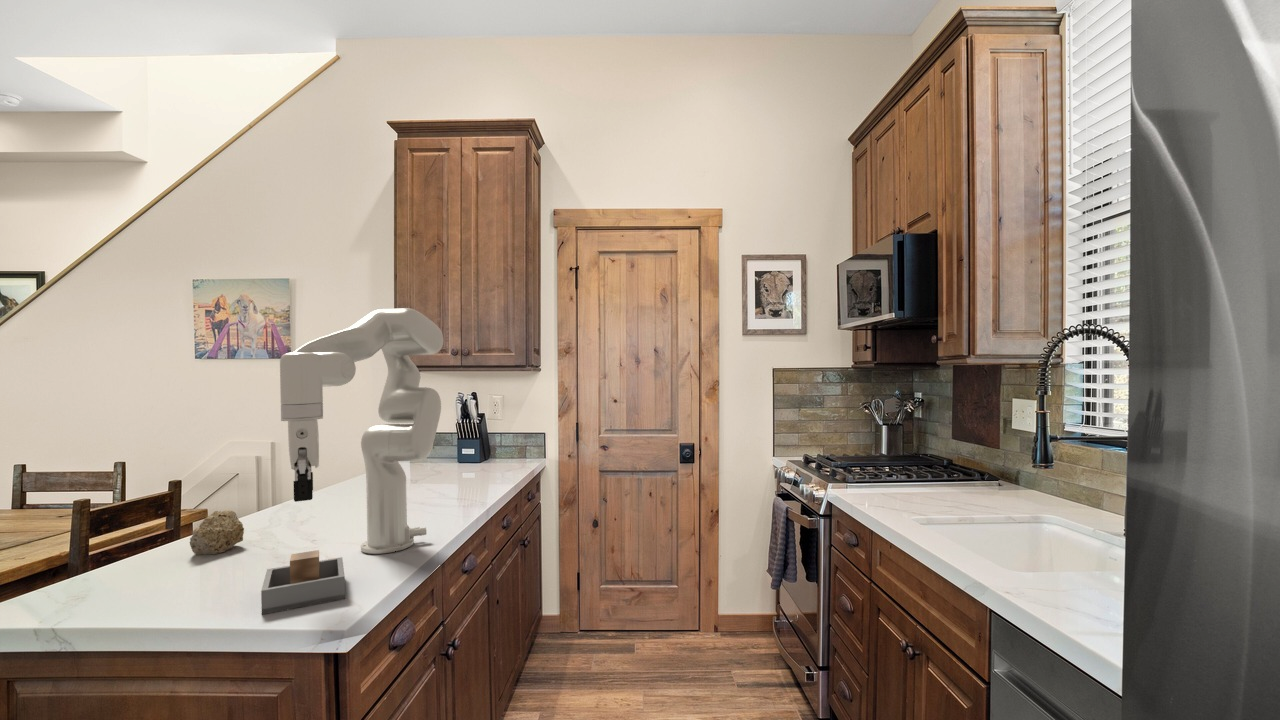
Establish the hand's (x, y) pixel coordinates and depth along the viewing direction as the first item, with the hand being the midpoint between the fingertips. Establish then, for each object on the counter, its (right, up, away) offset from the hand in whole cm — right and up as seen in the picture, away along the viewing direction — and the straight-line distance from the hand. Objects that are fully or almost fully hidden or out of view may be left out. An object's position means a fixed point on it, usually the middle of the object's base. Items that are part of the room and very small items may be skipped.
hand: (303, 495), depth 119 cm
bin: (+1, -20, 0) cm, 20 cm away
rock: (-42, -22, +31) cm, 57 cm away
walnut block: (0, -19, 0) cm, 19 cm away
